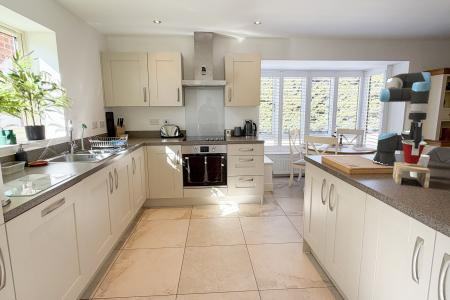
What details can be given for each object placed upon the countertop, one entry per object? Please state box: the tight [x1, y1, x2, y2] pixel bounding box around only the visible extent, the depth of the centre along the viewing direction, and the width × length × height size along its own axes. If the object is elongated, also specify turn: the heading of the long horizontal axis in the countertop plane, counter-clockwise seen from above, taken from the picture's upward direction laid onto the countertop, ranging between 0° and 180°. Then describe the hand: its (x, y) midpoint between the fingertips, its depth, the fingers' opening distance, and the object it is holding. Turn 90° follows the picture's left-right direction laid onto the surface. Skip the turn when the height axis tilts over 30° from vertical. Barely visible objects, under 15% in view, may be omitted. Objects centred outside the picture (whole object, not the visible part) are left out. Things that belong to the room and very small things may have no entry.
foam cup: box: [409, 154, 431, 179], centre depth 146 cm, size 10×9×13 cm
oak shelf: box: [392, 161, 432, 189], centre depth 135 cm, size 18×13×9 cm
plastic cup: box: [402, 140, 428, 164], centre depth 133 cm, size 11×11×12 cm
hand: (412, 153), depth 133 cm, fingers closed on plastic cup, 11 cm apart
